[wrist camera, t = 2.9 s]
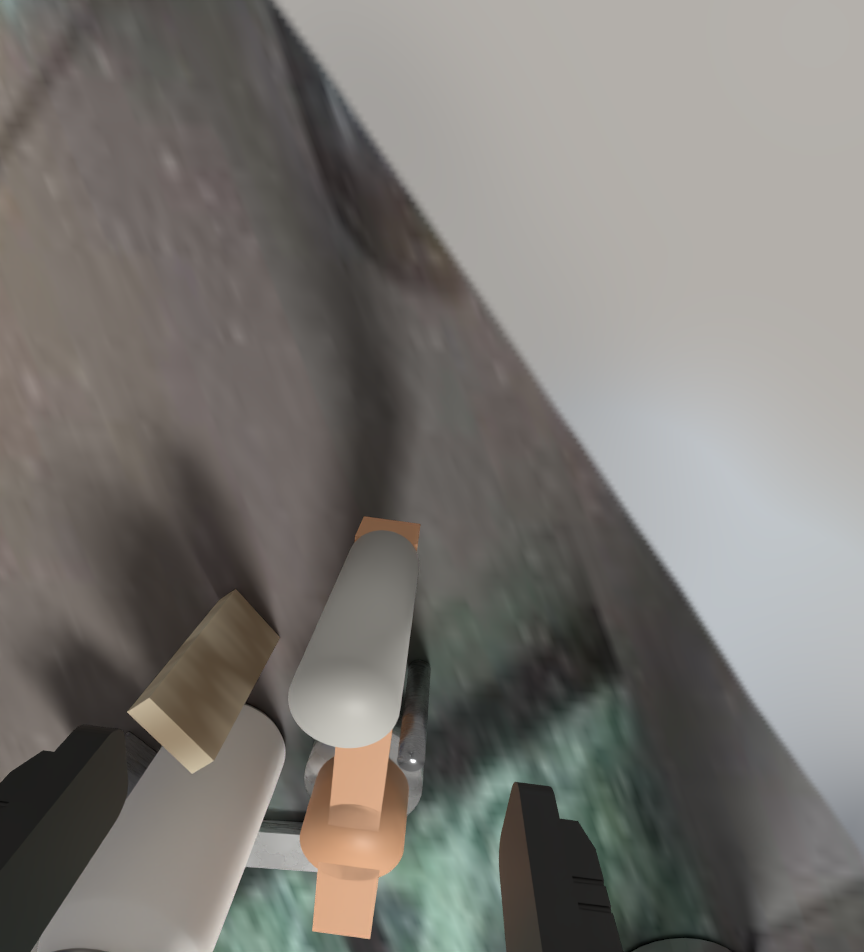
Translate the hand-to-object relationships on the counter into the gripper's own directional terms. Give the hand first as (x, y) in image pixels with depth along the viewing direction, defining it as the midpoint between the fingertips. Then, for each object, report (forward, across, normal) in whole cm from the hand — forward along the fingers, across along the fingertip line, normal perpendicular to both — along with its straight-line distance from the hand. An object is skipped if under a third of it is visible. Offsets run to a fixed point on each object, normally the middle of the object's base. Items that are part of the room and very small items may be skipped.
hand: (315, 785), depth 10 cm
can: (+15, +8, +16) cm, 23 cm away
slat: (+15, +7, +7) cm, 18 cm away
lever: (+13, 0, +10) cm, 16 cm away
